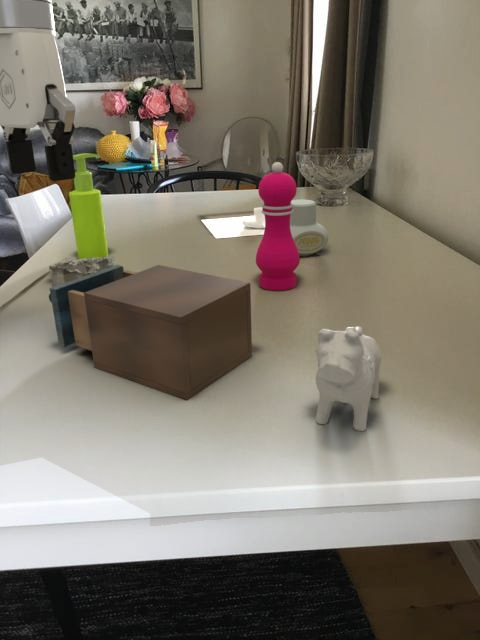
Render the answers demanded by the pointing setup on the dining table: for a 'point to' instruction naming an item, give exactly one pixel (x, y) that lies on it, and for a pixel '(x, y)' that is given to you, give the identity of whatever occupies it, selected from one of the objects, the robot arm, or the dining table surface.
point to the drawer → (79, 305)
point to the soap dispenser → (87, 213)
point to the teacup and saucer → (237, 225)
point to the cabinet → (170, 328)
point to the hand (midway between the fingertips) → (42, 175)
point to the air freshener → (306, 228)
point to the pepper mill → (277, 232)
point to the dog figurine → (347, 372)
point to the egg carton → (78, 268)
